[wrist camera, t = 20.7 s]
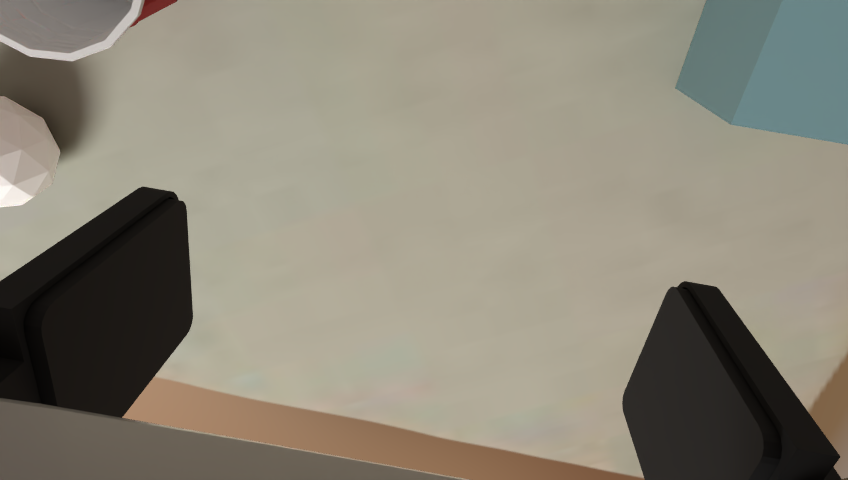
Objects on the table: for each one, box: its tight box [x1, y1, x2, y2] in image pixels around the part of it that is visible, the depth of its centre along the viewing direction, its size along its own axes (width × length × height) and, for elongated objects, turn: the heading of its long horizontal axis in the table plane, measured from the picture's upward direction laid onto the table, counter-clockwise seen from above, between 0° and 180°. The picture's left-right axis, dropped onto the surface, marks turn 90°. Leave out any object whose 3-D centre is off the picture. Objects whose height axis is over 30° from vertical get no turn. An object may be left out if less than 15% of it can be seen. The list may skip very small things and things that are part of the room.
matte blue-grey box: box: [675, 0, 848, 144], centre depth 30 cm, size 8×8×9 cm
